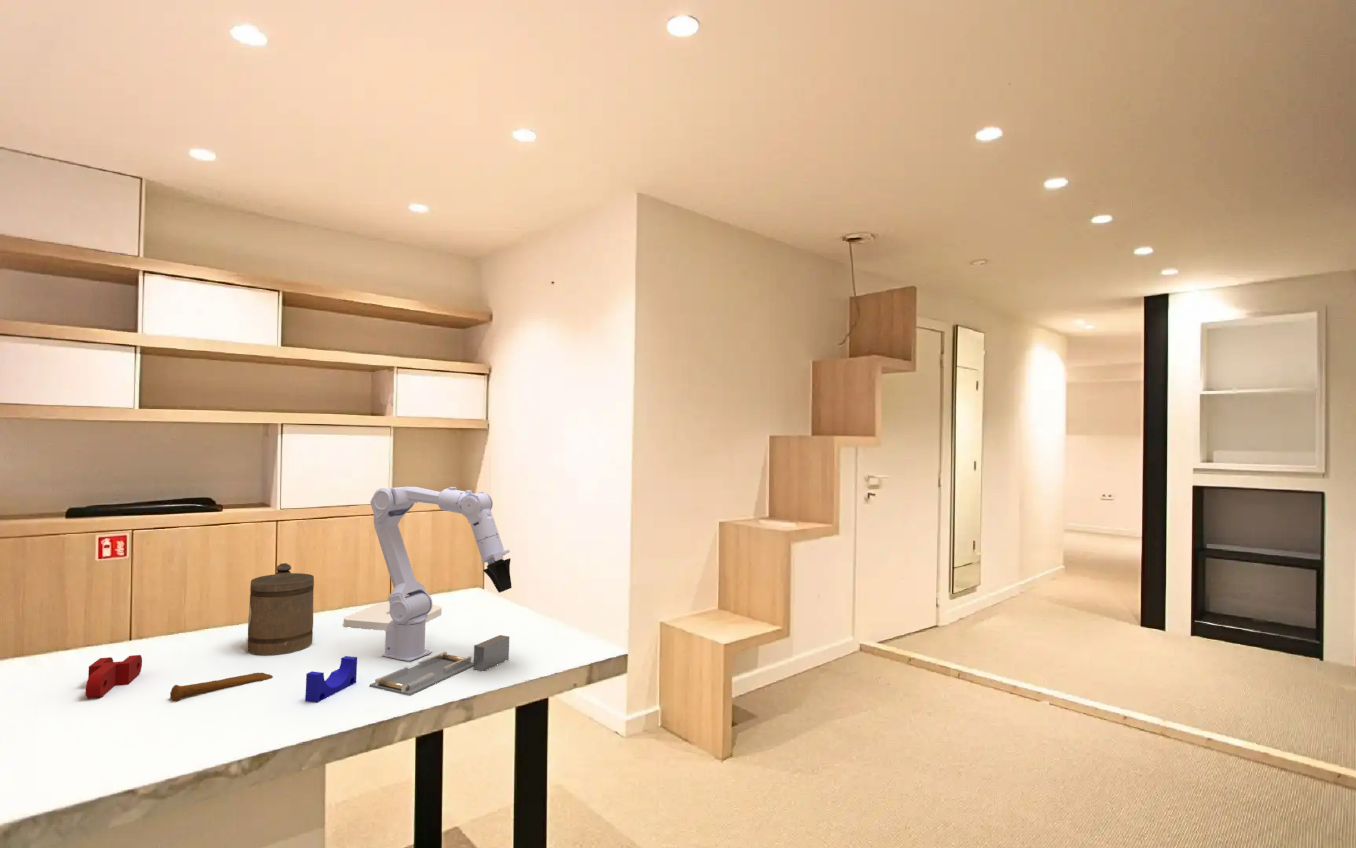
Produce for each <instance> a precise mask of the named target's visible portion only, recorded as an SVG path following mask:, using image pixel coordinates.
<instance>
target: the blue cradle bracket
mask: <svg viewBox="0 0 1356 848" xmlns="http://www.w3.org/2000/svg"><path fill="white" fill-rule="evenodd" d="M357 666H358V656H350V655H349V656H348V655H345V656H343V657H341V658H340V664H339V668H338V669H335V670H334V671H331V673H330V674H329V676H328V677H327V678H326V679H325V674H324V673H325V672H320V671H310V672H307V673H306V674H305V677H306V678H305V695H304V697H305V700H304V701H305V702H308V703H309V702H310V703H315V704H317V703H320V702H321V700H322V701H324V700H326V699H327V697H328V698H330V697H331V696H333V695H335V694H337V693H339V692H341V691H343V690H345V689H346V688H348V687H351V686H353V685H354V684H356V683H357V672H358V668H357Z"/></svg>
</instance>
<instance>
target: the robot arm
mask: <svg viewBox="0 0 1356 848" xmlns="http://www.w3.org/2000/svg"><path fill="white" fill-rule="evenodd" d="M369 502H370V506H371V510H372V512H373V525H374V530H375V533H376V536H377V538H378V539H377V540H378V542H379V545H380V548H381V552H382V555H383V558H384V560H385V564H386V568H387V571H388V574H389V577H390V580H391V584H392V587H393V590H392V591H391V592H390V594H389V595H388V598H387V599H388V602H390V616H391V618H392V619H393V620H392V621H391V622H390V623H389V624H388V626H387V628H386V631H385V638H384V653H382V655H381V656H382V657H386V658H392V659H396V660H401V661H406V662H412V661H414V660H415V661H416V660H417V659H420V658H421V657H425V656H427V655H430V654H432V652H433V650H431V649H430V650H429V649H425V648H426V646H425V643H426V624H427V622H426V618H427V614H428V613H429V612H430V611H431V609H432V605H433V599H432V597H431V595H430V594H429V593H428V592H427V590H426V588H425V585H424V584H423V583H421V582H419V581H417V580H416V577H415V574H414V571H413V568H412V564H411V562H410V558H409V555H408V552H407V549H406V546H405V543H404V540H403V537H402V534H401V531H400V526H399V523H400V522H401V519H403V517H405V516H406V515H407V513H408V512H409V511H410V510H411V509H412V508H413V506H414V505H415V504H417V503H423V504H429V505H430V504H431V505H438V508H439V509H440V510H441V511H445V512H449V513H456V514H461V515H462V516H463V517H465V518H466V519H467V521H468V523H469V524H470V527H471V528H470V529H471V531H472V533H473V537H474V539H475V543H476V546H477V547H478V552H479V555H480V558H481V562H482V563H483V564H484V563H487V565H486V568H484V569H483V573H485V575H487V576H488V577H489V579H490V581H491V582H492V584H493V586H494V587H495V589H496V592H498V593H503V592H505V591H507V590H510V589H512V580H511V579H512V578H511V572H510V571H511V569H510V568H511V567H510V565H511V558H509V557H508V558H506V559H504V556H505V555H507V554H509V553H511V551H510V549H507V550H505V548H504V546H503V542H502V540H501V537H500V534H499V531H498V528H497V527H498V526H497V525H496V522H495V519H494V515H493V513H492V509H493V504H494V503H493V499H492V497H491V496H490V494H489V493H485V492H484V491H480V492H479V491H478V492H477V493H473V490H470V489H467V490H459V489H457V487H456V486H449V487H448V488H444V489H443V490H442V491H437V490H432V489H428V488H423V487H418V486H406V485H404V486H401V487H400V486H399V487H387V488H385V487H381V488H379V489H376V491H374V493H373V496H372V498H371V500H370V501H369Z"/></svg>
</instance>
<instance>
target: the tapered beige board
mask: <svg viewBox="0 0 1356 848" xmlns="http://www.w3.org/2000/svg"><path fill="white" fill-rule="evenodd" d="M442 608H443V607H442V606H440V605H436V604H432V609H431V611H430V612H429V613H428V614H427V618H426V623H428V622H430V620H431V621H433V620H434V619H436V618H438V617H441V616H442V611H443V610H442ZM392 620H393V619H392V618H391V616H390V602H389V601H387V602H386V601H385V602H379V603H377V604H374V605H371V606H369V607H366V608H364V609H362V610H359V611H357V612H354V613H351V614H349V615H345V616H344V617H343V627H344V628H347V627H351V628H350V629H359V628H361V630H371V629H373V631H383V630H384V631H385V632H386V628H387V626H388V624H389V623H390V622H391V621H392Z"/></svg>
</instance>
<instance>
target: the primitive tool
mask: <svg viewBox="0 0 1356 848" xmlns="http://www.w3.org/2000/svg"><path fill="white" fill-rule="evenodd" d="M273 678H274V676H273V675H272V674H268V673H264V672H252V673H249V674H243V675H239V676H232V677H227V678H223V679H217V680H212V681H211V680H210V681H206V682H199V683H193V684H192V683H191V684H187V685H186V684H185V685H178V684H174V685H173V686H172V688H171V691H170V692H169V693H170V697H169V699H170V700H171V702H178V701H180V700H182V699H185V698H188V697H189V698H190V697H193V696H198V695H199V696H200V695H203V694H207V693H212V692H216V691H221V690H224V689H230V688H235V687H239V686H243V685H248V684H252V683H257V682H262V681H267V680H270V679H273Z"/></svg>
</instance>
